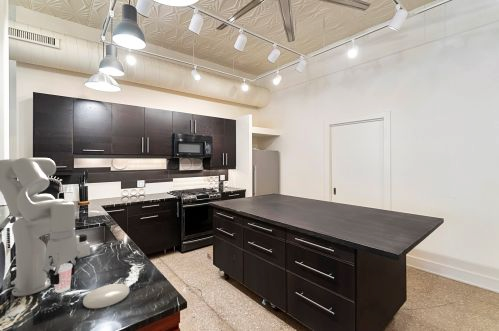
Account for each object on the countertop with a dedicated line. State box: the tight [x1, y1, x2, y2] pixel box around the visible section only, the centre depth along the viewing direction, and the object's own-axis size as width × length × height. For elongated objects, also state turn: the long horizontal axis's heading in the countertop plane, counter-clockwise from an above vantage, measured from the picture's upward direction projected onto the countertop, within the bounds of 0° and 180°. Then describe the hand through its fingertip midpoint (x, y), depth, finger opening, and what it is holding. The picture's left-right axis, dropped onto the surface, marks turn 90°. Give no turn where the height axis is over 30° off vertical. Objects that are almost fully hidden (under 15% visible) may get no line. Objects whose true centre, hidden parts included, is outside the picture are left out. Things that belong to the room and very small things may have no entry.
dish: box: [82, 283, 130, 309], centre depth 95 cm, size 16×16×1 cm
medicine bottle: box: [76, 233, 91, 259], centre depth 137 cm, size 7×7×12 cm
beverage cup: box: [53, 263, 73, 294], centre depth 92 cm, size 6×6×14 cm
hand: (62, 278), depth 92 cm, fingers closed on beverage cup, 6 cm apart
